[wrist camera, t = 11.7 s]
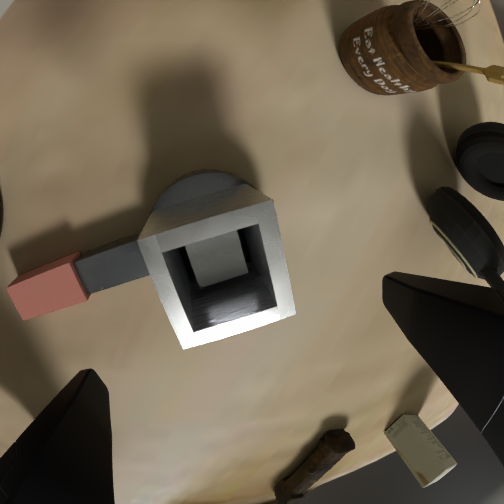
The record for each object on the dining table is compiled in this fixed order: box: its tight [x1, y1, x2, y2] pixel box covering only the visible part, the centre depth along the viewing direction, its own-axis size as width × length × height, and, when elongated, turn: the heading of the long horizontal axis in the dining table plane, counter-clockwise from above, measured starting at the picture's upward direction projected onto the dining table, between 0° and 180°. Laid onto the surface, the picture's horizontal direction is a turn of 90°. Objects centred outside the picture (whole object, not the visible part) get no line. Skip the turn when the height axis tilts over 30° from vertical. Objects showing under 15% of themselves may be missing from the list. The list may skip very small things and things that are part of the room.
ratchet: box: [6, 170, 257, 321], centre depth 15 cm, size 18×7×5 cm, turn 104°
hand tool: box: [275, 429, 355, 504], centre depth 29 cm, size 19×4×5 cm, turn 157°
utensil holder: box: [339, 0, 504, 95], centre depth 10 cm, size 6×6×12 cm
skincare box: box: [384, 414, 457, 488], centre depth 28 cm, size 6×4×12 cm
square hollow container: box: [137, 183, 296, 349], centre depth 13 cm, size 5×5×5 cm
